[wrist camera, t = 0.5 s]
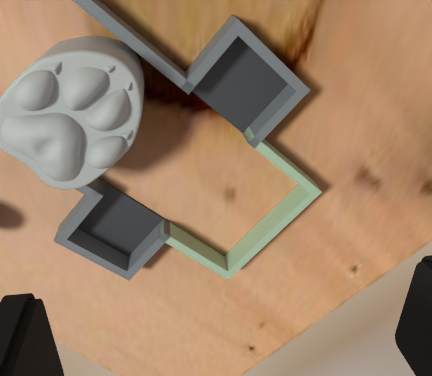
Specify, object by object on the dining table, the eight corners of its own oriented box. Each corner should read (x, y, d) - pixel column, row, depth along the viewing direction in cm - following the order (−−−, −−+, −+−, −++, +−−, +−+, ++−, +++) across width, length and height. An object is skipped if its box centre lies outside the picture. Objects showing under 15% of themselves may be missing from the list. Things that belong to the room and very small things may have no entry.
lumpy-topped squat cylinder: (-2, 100, 39) (-39, 133, 32) (90, 5, 36) (74, 16, 29) (82, 169, 44) (68, 212, 36) (170, 90, 41) (173, 119, 33)
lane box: (-55, 163, 41) (-69, 177, 39) (116, -99, 33) (112, -105, 30) (190, 296, 55) (192, 313, 52) (357, 137, 46) (369, 147, 44)
